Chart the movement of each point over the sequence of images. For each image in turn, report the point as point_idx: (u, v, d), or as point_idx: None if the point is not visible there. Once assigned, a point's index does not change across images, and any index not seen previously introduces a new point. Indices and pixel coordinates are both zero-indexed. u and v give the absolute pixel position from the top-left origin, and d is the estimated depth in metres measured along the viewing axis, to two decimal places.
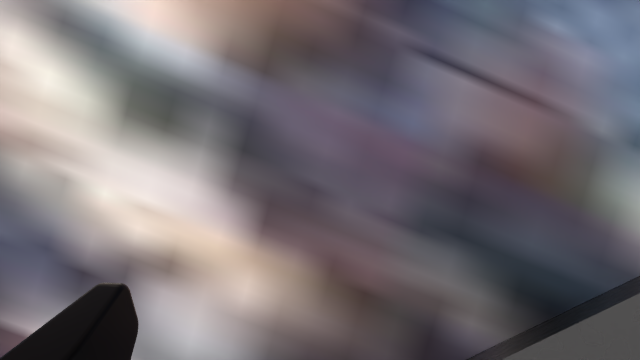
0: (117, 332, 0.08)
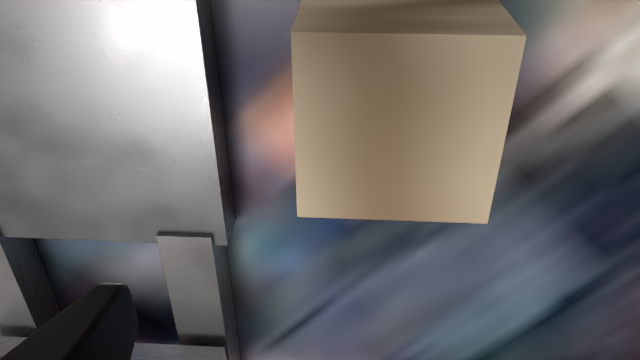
0: (117, 332, 0.08)
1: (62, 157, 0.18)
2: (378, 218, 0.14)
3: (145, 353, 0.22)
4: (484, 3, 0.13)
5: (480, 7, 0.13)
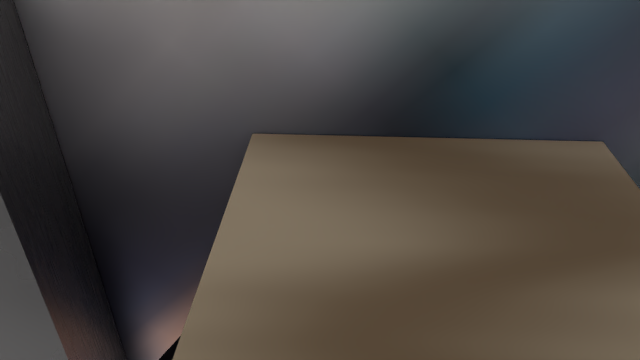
0: None
1: None
2: None
3: None
4: None
5: None
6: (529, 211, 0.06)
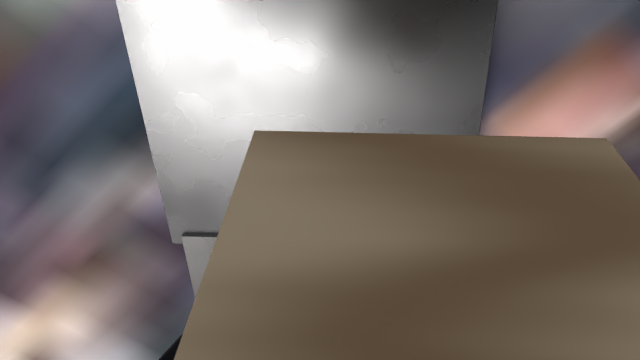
0: None
1: None
2: None
3: None
4: None
5: None
6: (534, 208, 0.06)
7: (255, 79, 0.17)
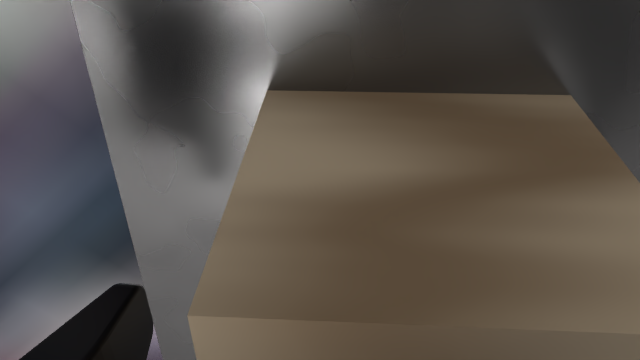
0: (133, 333, 0.08)
1: None
2: None
3: None
4: (603, 182, 0.07)
5: (600, 195, 0.06)
6: (503, 146, 0.07)
7: None
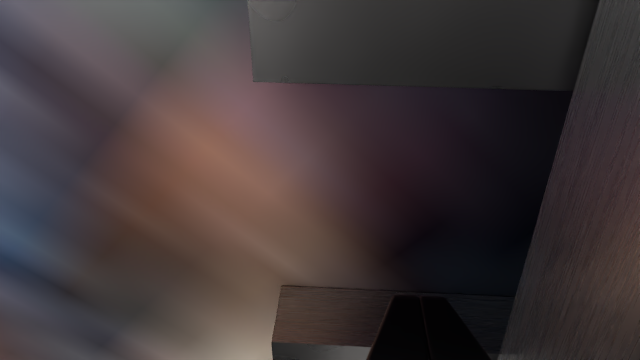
0: None
1: None
2: None
3: None
4: None
5: None
6: None
7: None
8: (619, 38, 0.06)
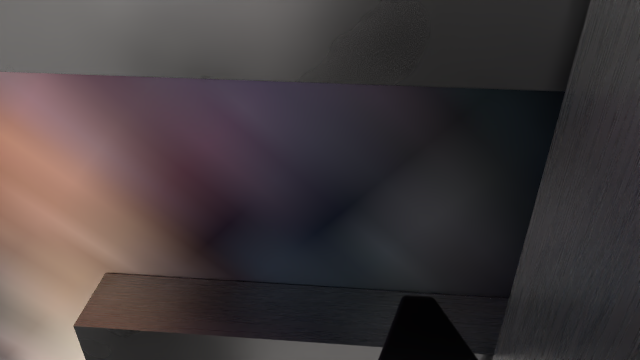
0: None
1: None
2: None
3: None
4: None
5: None
6: None
7: None
8: (608, 39, 0.06)
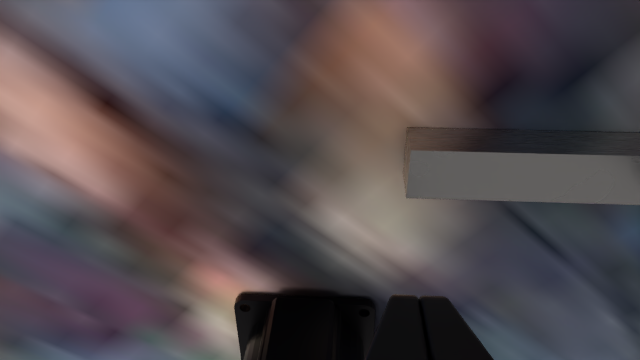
0: None
1: None
2: None
3: None
4: None
5: None
6: None
7: None
8: None
